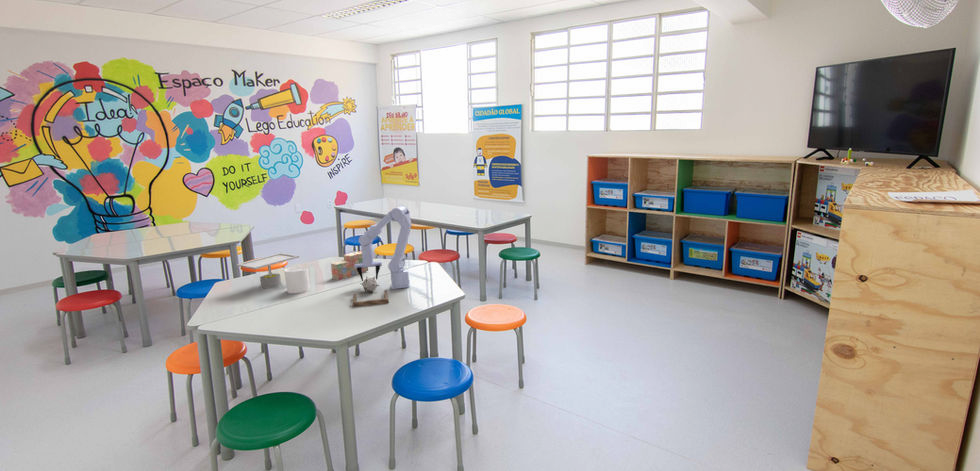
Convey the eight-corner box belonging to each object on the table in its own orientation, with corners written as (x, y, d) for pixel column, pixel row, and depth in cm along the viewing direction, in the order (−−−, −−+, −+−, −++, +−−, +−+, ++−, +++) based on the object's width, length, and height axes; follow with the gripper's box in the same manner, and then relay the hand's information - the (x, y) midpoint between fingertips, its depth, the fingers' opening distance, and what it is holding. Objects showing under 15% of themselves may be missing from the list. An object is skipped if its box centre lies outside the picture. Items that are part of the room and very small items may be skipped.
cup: (295, 286, 278) (292, 265, 276) (314, 287, 276) (311, 266, 273) (282, 293, 267) (279, 271, 265) (302, 294, 265) (299, 272, 262)
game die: (374, 297, 266) (384, 282, 265) (365, 297, 258) (376, 281, 257) (363, 287, 269) (373, 272, 268) (354, 286, 261) (364, 271, 260)
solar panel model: (258, 294, 266) (255, 267, 263) (239, 290, 275) (236, 264, 272) (302, 280, 289) (299, 255, 286) (283, 277, 298) (280, 252, 295)
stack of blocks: (338, 280, 288) (336, 259, 285) (332, 278, 292) (329, 258, 289) (368, 271, 304) (366, 251, 301) (362, 269, 308) (360, 250, 305)
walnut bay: (387, 293, 259) (387, 290, 259) (388, 302, 246) (388, 299, 245) (353, 297, 255) (353, 293, 255) (353, 306, 242) (352, 303, 241)
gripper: (380, 252, 276) (382, 276, 279) (353, 255, 273) (356, 279, 276) (381, 255, 270) (383, 279, 273) (353, 258, 266) (355, 282, 269)
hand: (369, 279), depth 274 cm, fingers open, 7 cm apart
